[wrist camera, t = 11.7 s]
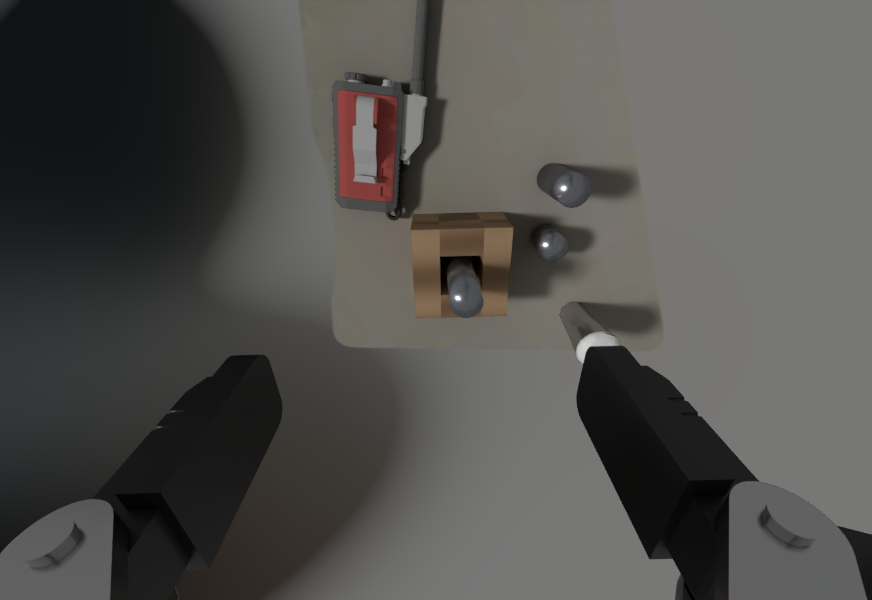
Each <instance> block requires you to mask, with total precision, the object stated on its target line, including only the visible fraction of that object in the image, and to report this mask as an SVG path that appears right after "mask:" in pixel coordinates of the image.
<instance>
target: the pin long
mask: <svg viewBox="0 0 872 600" xmlns="http://www.w3.org/2000/svg"><path fill="white" fill-rule="evenodd" d="M445 263H446V273H447V282H448V292H449V302H450V308H451V310H452V312H453V313H454V314H455V315H457V316H459V317H462V318H469V317H473V316H475V315H477V314H478V313H479V312H480V311H481V309H482V307H483V303H484V302H483V297H482V293H481V290H480V286H479V283H478V279H477V276H476V272H475V269H474V265H473V262H472V258H471V256H445Z"/></svg>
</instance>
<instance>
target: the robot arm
mask: <svg viewBox="0 0 872 600" xmlns="http://www.w3.org/2000/svg"><path fill="white" fill-rule="evenodd" d="M577 408H578V412H579V416H580V418H581V420H582V422H583V424H584V426H585V428H586V430H587V432H588V434H589V437H590V438H591V441H592V442H593V445H594V447H595V449H596V451H597V453H598V455H599V457H600V459H601V461H602V463H603V465H604V467H605V469H606V471H607V473H608V475H609V477H610V479H611V481H612V483H613V485H614V488H615V490H616V492H617V494H618V496H619V498H620V500H621V502H622V504H623V506H624V508H625V510H626V512H627V514H628V516H629V518H630V520H631V522H632V524H633V526H634V528H635V530H636V532H637V535H638V536H639V539H640V541H641V543H642V545H643V547H644V549H645V551H646V553H647V555H648V557H649V559H670V558H671V559H673V560H674V562H675V564H676V566H677V567H678V569H679V571H680V573H681V574H680V576H679V578H678V581H677V586H676V595H675V600H872V535H871V534H867V533H863V532H859V531H855V530H851V529H847V528H843V527H839V526H836V525H835V524H834V523H833V522H832V521H831V520H830V519H829V518H828V517H827V516H826V515H825V514H824V513H822V512H821V511H820V510H819V509H817V508H816V507H814V506H813V505H812V504H810V503H809V502H807V501H806V500H804V499H803V498H801V497H799V496H797V495H795V494H794V493H791V492H789V491H787V490H785V489H783V488H780V487H777V486H775V485H772V484H768V483H763V482H759V481H758V480H757V479H756V477H755V476H754V475H753V474H752V473H751V472H750V471H749V470H748V469H747V467H746V466H745V465H744V464H743V463H742V462H741V461H740V460H739V458H738V457H737V456H736V455H735V454H734V453H733V452H732V451H731V449H730V448H729V447H728V446H727V445H726V444H725V443H724V442H723V440H722V439H721V438H720V437H719V436H718V435H717V434H716V433H715V431H714V430H713V429H712V428H711V427H710V426H709V425H708V424H707V423H706V421H705V420H704V419H703V418H702V417H701V416H700V417H699V416H698V414H697V413H698V412H697V411H696V410H695V409H694V408H693V407H692V406H691V405H690V403H689V402H687V401H684V397H683V396H682V394H681V393H680V392H679V391H678V390H677V389H676V388H675V387H674V385H673V384H672V383H671V382H670V381H669V380H668V379H666V378H665V377H663V376H662V375H660V374H659V373H657V372H656V371H654V370H653V369H651V368H650V367H648V366H641V365H640V364H639V363H638V362H637V361H636V359H635V358H634V357H633V356H632V355H631V353H630V352H629V351H628V350H627V349H626V348H625V347H624V346H591V347H589V348H588V349H587V351H586V354H585V359H584V363H583V368H582V372H581V377H580V381H579V386H578V390H577ZM281 417H282V400H281V397H280V393H279V390H278V387H277V384H276V381H275V377H274V374H273V371H272V368H271V365H270V362H269V359H268V358H267V357H266V356H265V355H233V356H230V357H229V358H227V359H226V360H225V362H224V363H223V364H222V365H221V367H220V368H219V369H218V370H217V371H216V373H215V374H214V375H213V376H212V377H207V378H205V379H204V380H203V381H201V382H200V383H198V384H197V385H195V386H194V387H192V388H191V389H190V390H188V391H187V392H186V393H185V394H184V395H183V396H182V397H181V398H180V399H179V400H178V402H177V403H176V404H175V405H174V406H173V407H172V408H171V410H170V413H169V414H166V415H165V416H164V418H163V419H162V420H161V421H160V422H159V423H158V424H157V426H156V430H152V431H151V432H150V433H149V435H148V436H147V437H146V438H145V439H144V440H143V441H142V443H141V444H140V445H139V446H138V447H137V448H136V449H135V451H134V452H133V453H132V454H131V455H130V456H129V458H128V459H127V460H126V461H125V462H124V463H123V464H122V465H121V467H120V468H119V469H118V470H117V471H116V472H115V474H114V475H113V476H112V477H111V478H110V479H109V480H108V481H107V482H106V484H105V485H104V486H103V487H102V488H101V489H100V490H99V492H98V493H97V494H96V495H95V496H94V497H93V498H92V499H90V500H84V501H79V502H76V503H73V504H70V505H67V506H65V507H62V508H60V509H58V510H56V511H54V512H52V513H50V514H49V515H47V516H45V517H43V518H42V519H40V520H39V521H37V522H36V523H34V524H33V525H31V526H30V527H29V528H27V529H26V530H25V531H24V532H22V533H21V534H20V535H19V536H17V537H16V538H15V539H14V540H13V541H12V542H11V543H10V544H9V545H8V546H7V547H6V548H5V549H3V550H0V600H179V598H178V593H177V591H176V589H175V587H176V585H177V583H178V581H179V579H180V577H181V575H182V574H183V572H184V570H189V569H190V570H191V569H210V567H211V565H212V562H213V560H214V558H215V556H216V554H217V552H218V550H219V548H220V546H221V544H222V542H223V540H224V538H225V535H226V534H227V532H228V529H229V528H230V525H231V523H232V521H233V519H234V517H235V515H236V513H237V511H238V509H239V507H240V505H241V503H242V500H243V499H244V497H245V495H246V493H247V490H248V488H249V486H250V484H251V482H252V480H253V478H254V476H255V474H256V472H257V470H258V468H259V466H260V464H261V462H262V460H263V457H264V455H265V453H266V451H267V449H268V447H269V445H270V443H271V441H272V439H273V437H274V435H275V433H276V431H277V429H278V427H279V424H280V421H281Z"/></svg>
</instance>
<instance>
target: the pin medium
mask: <svg viewBox="0 0 872 600" xmlns="http://www.w3.org/2000/svg"><path fill="white" fill-rule="evenodd" d="M537 184H538V186H539V188H540V189H541V190H542V191H544V192H545V193H547V194H548V195H549V196H551V197H552V198H554V199H555V200H557V201H558V202H560V203H561V204H562V205H564V206H566V207H569V208H574V207H578V206H580V205H582V204H583V203H584V202H585V201H586V200H587V199H588V198H589V196H590V193H591V189H592V186H591V182H590V180H589V178H588V177H587V176H586V175H584V174H581V173H579V172H576V171H574V170H571V169H569V168H566V167H564V166H561V165H559V164H556V163H550V164H547V165H545V166H544V167H543V168H542V169H541V170H540V171H539V173H538V176H537Z"/></svg>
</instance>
